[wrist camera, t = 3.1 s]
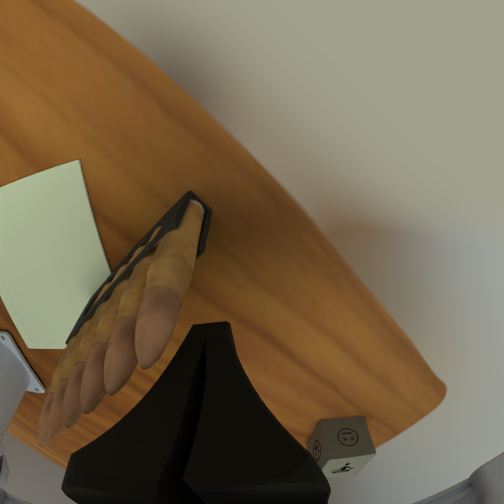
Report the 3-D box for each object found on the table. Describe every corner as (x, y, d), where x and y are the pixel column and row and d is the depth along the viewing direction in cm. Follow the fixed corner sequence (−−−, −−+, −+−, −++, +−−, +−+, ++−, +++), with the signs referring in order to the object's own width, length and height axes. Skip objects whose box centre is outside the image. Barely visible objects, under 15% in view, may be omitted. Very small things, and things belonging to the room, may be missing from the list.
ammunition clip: (190, 189, 17) (134, 325, 6) (213, 211, 18) (198, 369, 7) (89, 298, 20) (18, 439, 9) (109, 314, 20) (52, 460, 9)
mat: (29, 346, 22) (28, 348, 22) (-33, 201, 16) (-35, 202, 16) (140, 345, 22) (140, 346, 22) (80, 158, 16) (78, 159, 16)
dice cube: (306, 442, 29) (313, 479, 25) (319, 418, 27) (329, 459, 23) (347, 439, 30) (356, 474, 25) (363, 415, 28) (376, 453, 23)
